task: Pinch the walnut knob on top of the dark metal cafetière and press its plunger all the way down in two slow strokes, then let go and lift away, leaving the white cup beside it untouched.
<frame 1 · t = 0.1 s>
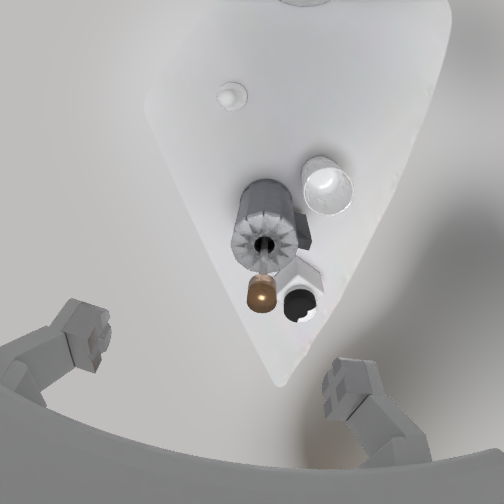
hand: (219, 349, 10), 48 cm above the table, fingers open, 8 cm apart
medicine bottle: (296, 274, 67), on the table
white cup: (319, 173, 55), on the table
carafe: (266, 203, 59), on the table
chess pawn: (232, 96, 49), on the table
plunger: (263, 257, 42), point 19 cm above the table, slide at 0.0 cm
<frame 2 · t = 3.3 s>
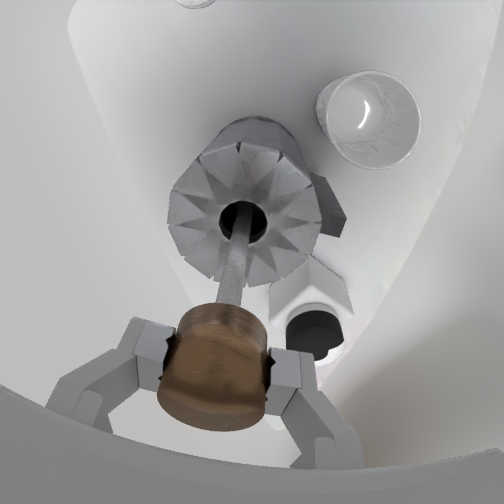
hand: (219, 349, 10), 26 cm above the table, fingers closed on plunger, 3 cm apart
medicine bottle: (306, 283, 41), on the table
white cup: (346, 109, 30), on the table
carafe: (255, 160, 33), on the table
plunger: (237, 250, 16), point 19 cm above the table, slide at 0.0 cm, touching gripper
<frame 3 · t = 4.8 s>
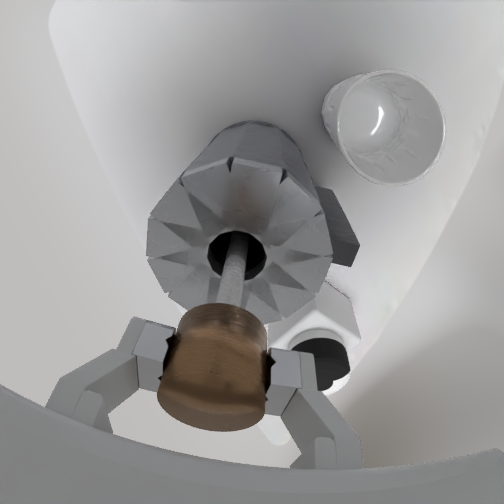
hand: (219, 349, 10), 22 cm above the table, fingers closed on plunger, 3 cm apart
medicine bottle: (309, 302, 37), on the table
white cup: (356, 112, 26), on the table
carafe: (253, 170, 30), on the table
plunger: (237, 250, 16), point 15 cm above the table, slide at -4.0 cm, touching gripper
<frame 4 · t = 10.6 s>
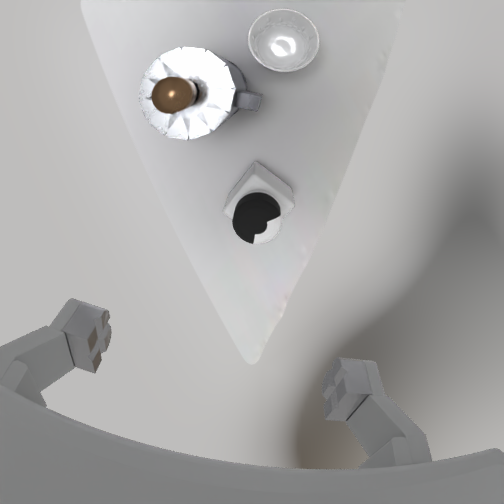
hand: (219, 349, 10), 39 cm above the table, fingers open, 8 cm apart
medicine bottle: (260, 191, 49), on the table
white cup: (280, 49, 37), on the table
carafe: (213, 89, 41), on the table
plunger: (194, 91, 31), point 12 cm above the table, slide at -7.7 cm
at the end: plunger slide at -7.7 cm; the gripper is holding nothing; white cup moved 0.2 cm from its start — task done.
